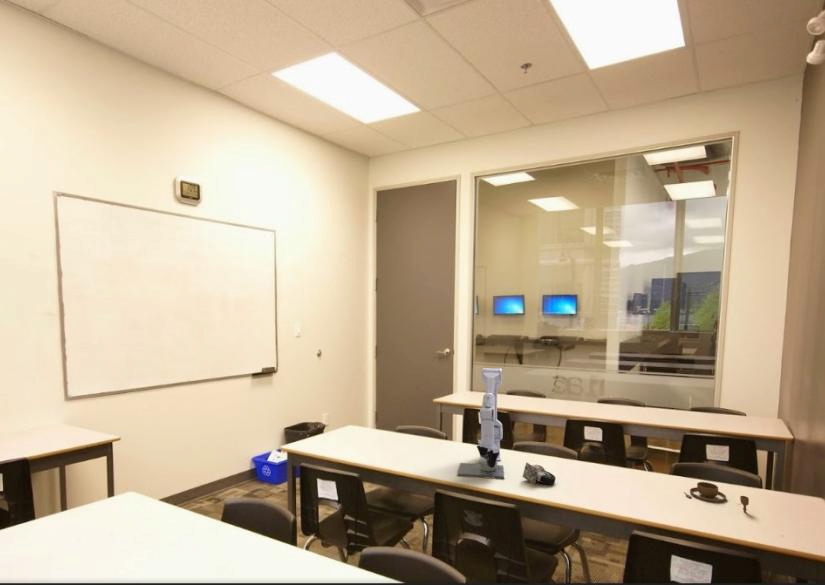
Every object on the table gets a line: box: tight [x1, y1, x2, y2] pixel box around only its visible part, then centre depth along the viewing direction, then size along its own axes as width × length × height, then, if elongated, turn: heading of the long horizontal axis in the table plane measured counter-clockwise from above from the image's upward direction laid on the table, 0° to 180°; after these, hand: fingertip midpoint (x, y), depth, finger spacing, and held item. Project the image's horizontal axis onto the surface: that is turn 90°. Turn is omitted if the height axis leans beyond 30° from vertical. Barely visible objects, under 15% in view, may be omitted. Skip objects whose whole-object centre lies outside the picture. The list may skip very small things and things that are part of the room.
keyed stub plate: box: [457, 462, 505, 479], centre depth 201 cm, size 14×20×4 cm
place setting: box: [683, 481, 750, 514], centre depth 171 cm, size 18×20×6 cm
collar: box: [479, 455, 498, 471], centre depth 202 cm, size 6×6×5 cm
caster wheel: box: [522, 462, 556, 486], centre depth 190 cm, size 7×11×10 cm
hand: (487, 464), depth 202 cm, fingers open, 7 cm apart
